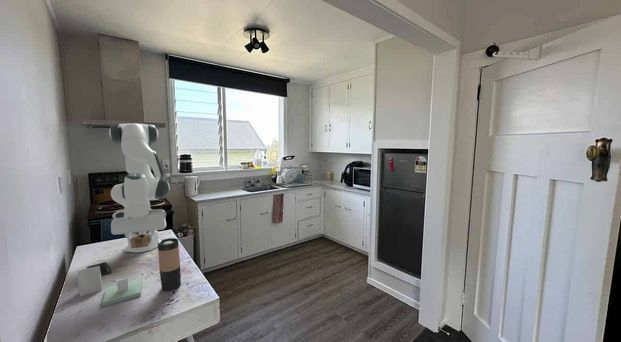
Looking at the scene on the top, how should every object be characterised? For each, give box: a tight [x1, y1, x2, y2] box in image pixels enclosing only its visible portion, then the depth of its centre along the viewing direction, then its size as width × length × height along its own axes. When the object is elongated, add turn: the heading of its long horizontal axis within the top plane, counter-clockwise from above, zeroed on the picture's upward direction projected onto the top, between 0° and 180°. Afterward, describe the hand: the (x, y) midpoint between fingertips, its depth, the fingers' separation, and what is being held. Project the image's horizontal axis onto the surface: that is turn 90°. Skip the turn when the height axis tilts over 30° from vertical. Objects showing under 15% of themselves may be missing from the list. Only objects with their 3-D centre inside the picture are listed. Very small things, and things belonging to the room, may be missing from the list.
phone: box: [86, 261, 112, 278], centre depth 120 cm, size 8×1×15 cm
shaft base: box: [101, 277, 143, 307], centre depth 102 cm, size 12×12×6 cm
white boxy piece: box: [77, 266, 103, 297], centre depth 103 cm, size 4×7×10 cm, turn 128°
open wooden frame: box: [131, 233, 151, 249], centre depth 111 cm, size 6×6×4 cm
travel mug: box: [157, 237, 182, 292], centre depth 105 cm, size 8×8×20 cm
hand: (141, 241), depth 111 cm, fingers closed on open wooden frame, 6 cm apart
